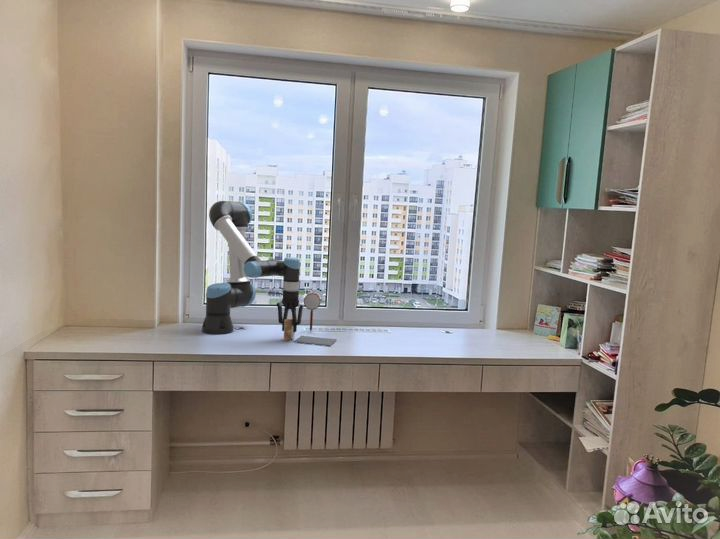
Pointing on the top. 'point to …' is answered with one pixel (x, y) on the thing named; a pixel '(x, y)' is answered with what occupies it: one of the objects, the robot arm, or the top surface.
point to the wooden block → (288, 328)
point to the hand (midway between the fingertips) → (289, 338)
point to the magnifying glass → (312, 304)
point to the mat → (315, 340)
